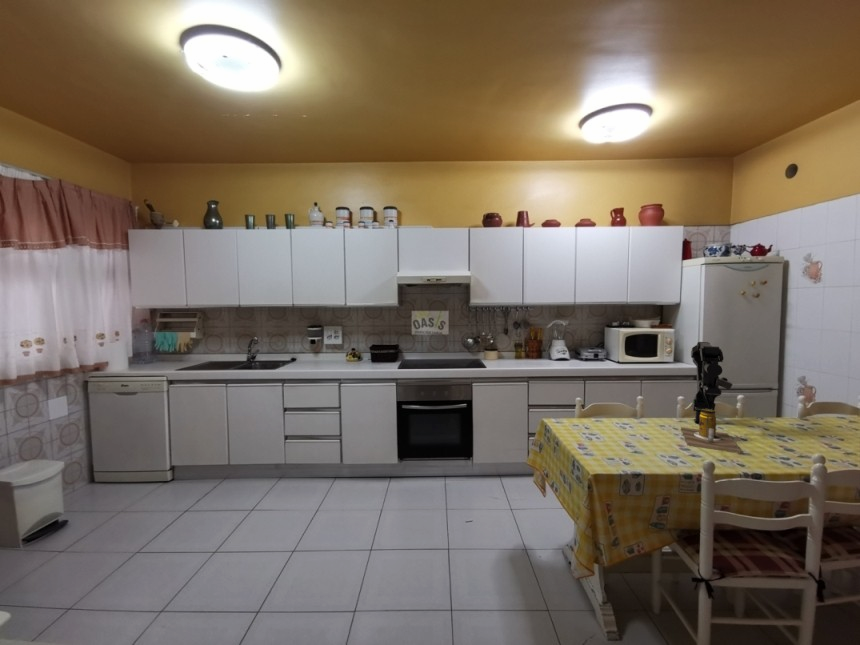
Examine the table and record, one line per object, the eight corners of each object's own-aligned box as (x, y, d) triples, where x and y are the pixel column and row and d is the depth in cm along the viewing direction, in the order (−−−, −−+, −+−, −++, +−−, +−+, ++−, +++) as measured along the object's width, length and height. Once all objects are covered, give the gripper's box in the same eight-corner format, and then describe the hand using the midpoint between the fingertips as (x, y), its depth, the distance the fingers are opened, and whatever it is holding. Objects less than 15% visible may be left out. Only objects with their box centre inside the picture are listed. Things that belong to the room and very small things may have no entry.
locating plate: (680, 429, 181) (681, 415, 180) (727, 435, 172) (727, 420, 172) (687, 445, 161) (688, 429, 161) (740, 453, 153) (740, 436, 152)
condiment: (694, 433, 172) (695, 407, 171) (713, 433, 172) (714, 407, 171) (704, 438, 165) (706, 412, 164) (724, 439, 164) (726, 412, 164)
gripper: (736, 377, 165) (734, 412, 165) (726, 370, 181) (725, 402, 182) (705, 375, 170) (704, 408, 171) (698, 368, 186) (697, 399, 187)
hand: (708, 404), depth 177 cm, fingers open, 9 cm apart
